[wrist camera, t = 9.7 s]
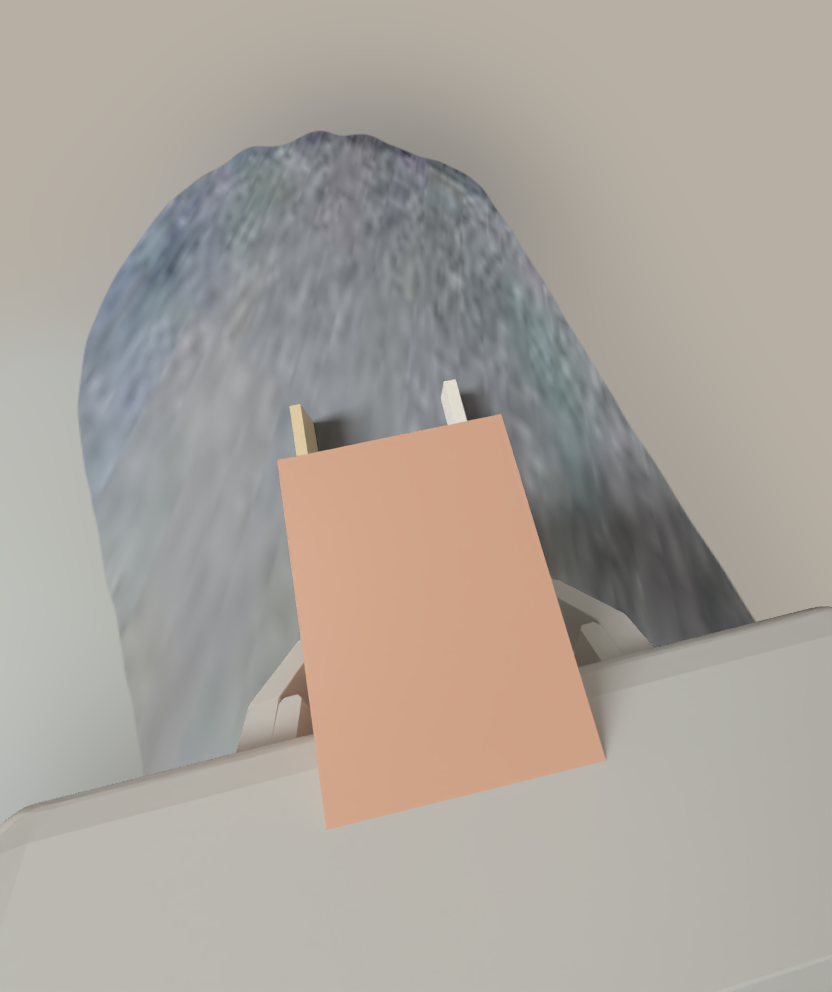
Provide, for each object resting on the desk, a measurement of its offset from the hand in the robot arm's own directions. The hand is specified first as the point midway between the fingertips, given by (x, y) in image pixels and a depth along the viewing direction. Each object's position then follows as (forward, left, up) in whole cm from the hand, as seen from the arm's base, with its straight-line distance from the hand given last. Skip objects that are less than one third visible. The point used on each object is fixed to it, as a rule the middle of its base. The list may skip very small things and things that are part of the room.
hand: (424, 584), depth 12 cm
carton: (0, 0, -6) cm, 6 cm away
